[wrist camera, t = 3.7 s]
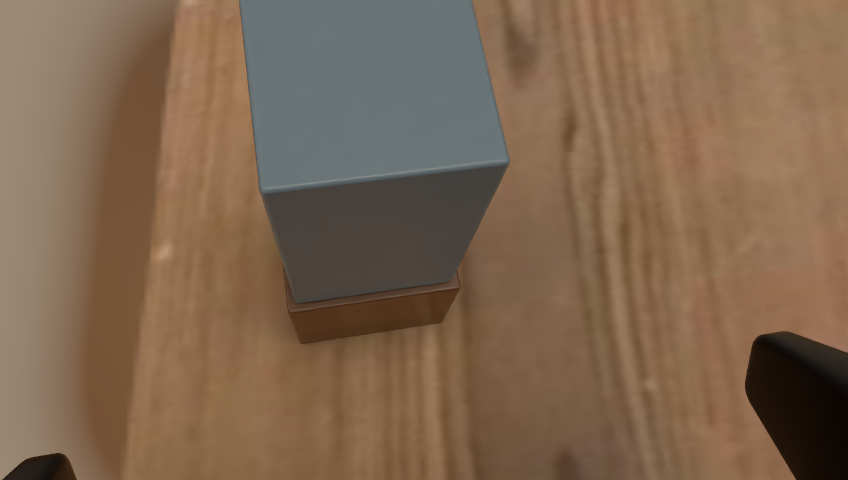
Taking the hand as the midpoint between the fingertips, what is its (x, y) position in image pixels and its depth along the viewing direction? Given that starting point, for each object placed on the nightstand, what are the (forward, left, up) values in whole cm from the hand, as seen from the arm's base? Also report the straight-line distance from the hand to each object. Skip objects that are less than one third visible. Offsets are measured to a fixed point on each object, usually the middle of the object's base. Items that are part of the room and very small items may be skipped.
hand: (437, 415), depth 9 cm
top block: (+3, +5, -8) cm, 10 cm away
